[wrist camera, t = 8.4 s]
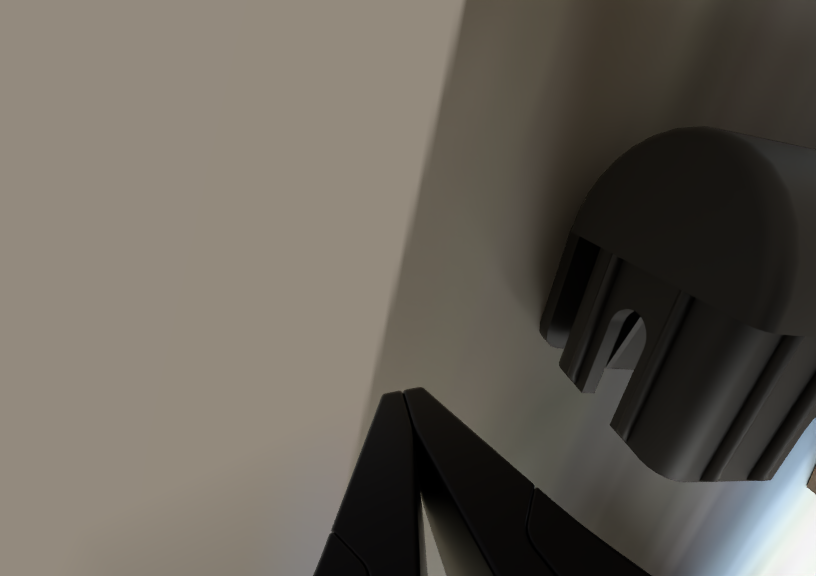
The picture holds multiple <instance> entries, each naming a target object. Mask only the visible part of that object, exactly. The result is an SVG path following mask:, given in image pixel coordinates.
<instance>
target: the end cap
mask: <svg viewBox="0 0 816 576" xmlns="http://www.w3.org/2000/svg"><path fill="white" fill-rule="evenodd" d="M540 333H541V335H542V336H543V338H544V339H545V340H546V341H547V342H548V343H549V345H550V346H553V347H555V348H562V349H564V351H563V354H562V356H561V359H560V362H559V366H560V368H561V369H562V370H563V372H564V373H565V374H566V375H567V376H568V377H569V379H570V380H571V381H572V382H573V383H574V384H575V385H576V387H577V388H578V389H579V390H580V391H581V392H582V393H595V391H596V388H597V386H598V383H599V381H600V378H601V376H602V374H603V371H604V369H605V368H612V369H632V370H634V372H633V374H632V376H631V378H630V381H629V383H628V385H627V387H626V390H625V392H624V394H623V396H622V399H621V401H620V403H619V405H618V408H617V410H616V412H615V414H614V417H613V419H612V421H611V423H610V426H611V427H612V428H613V429H614V430H615V431H616V433H617V434H618V435H619V436H620V437H621V438H622V439H623V441H624V442H625V443H626V444H627V445H628V446H629V448H630V449H631V450H632V451H633V452H634V453H635V454H636V456H637V457H638V458H639V459H640V460H641V461H642V462H643V463H644V464H645V465H646V466H647V467H649V468H650V469H652V470H653V471H654V472H656V473H658V474H660V475H662V476H664V477H666V478H668V479H671V480H674V481H680V482H718V481H765V480H771V479H772V478H773V476H774V475H775V473H776V472H777V470H778V469H779V467H780V466H781V464H782V463H783V461H784V460H785V458H786V457H787V456H788V454H789V453H790V451H791V450H792V448H793V447H794V445H795V444H796V442H797V441H798V439H799V438H800V436H801V435H802V433H803V432H804V430H805V429H806V428H807V427H808V425H809V424H810V423H811V421H812V420H813V419H814V418H815V417H816V149H811V148H806V147H801V146H797V145H792V144H787V143H782V142H778V141H773V140H768V139H764V138H759V137H754V136H749V135H745V134H740V133H735V132H731V131H726V130H720V129H715V128H710V127H688V128H677V129H673V130H670V131H667V132H664V133H660V134H657V135H654V136H652V137H650V138H648V139H646V140H645V141H643V142H641V143H639V144H637V145H635V146H633V147H632V148H631V149H630V150H628V151H627V152H626V153H624V154H623V155H622V156H621V157H619V158H618V159H617V160H616V161H615V162H614V163H613V164H612V165H611V166H610V167H609V168H608V169H607V170H606V171H605V172H604V174H603V175H602V176H601V177H600V178H599V179H598V181H597V182H596V184H595V185H594V186H593V188H592V189H591V191H590V192H589V194H588V195H587V197H586V199H585V201H584V203H583V204H582V206H581V208H580V210H579V212H578V214H577V217H576V220H575V222H574V225H573V227H572V229H571V231H570V233H569V236H568V239H567V243H566V246H565V249H564V252H563V255H562V258H561V261H560V264H559V267H558V270H557V273H556V276H555V279H554V283H553V286H552V289H551V292H550V295H549V298H548V301H547V304H546V307H545V310H544V313H543V316H542V319H541V322H540Z"/></svg>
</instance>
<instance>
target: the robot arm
mask: <svg viewBox="0 0 816 576" xmlns="http://www.w3.org/2000/svg"><path fill="white" fill-rule="evenodd" d="M420 493H421V494H420ZM421 497H422V501H423V505H424V508H425V511H426V515H427V518H428V521H429V524H430V527H431V530H432V533H433V536H434V539H435V542H436V545H437V548H438V551H439V554H440V557H441V560H442V563H443V566H444V569H445V572H446V575H447V576H651V575H650V574H649V573H647V572H646V571H644V570H643V569H642V568H640V567H639V566H637V565H636V564H635V563H633V562H632V561H630V560H629V559H628V558H626V557H625V556H623V555H622V554H621V553H619V552H618V551H616V550H615V549H614V548H612V547H611V546H610V545H608V544H607V543H605V542H604V541H603V540H601V539H600V538H599V537H597V536H596V535H595V534H593V533H592V532H591V531H589V530H588V529H587V528H585V527H584V526H583V525H581V524H580V523H579V522H578V521H577V520H575V519H574V518H573V517H572V516H570V515H569V514H568V513H567V512H566V511H564V510H563V509H562V508H561V507H560V506H558V505H557V504H556V503H555V502H554V501H552V500H551V499H550V498H549V497H548V496H547V495H546V494H544V493H543V492H542V491H541V490H540V489H539V488H535V485H534V484H533V483H532V482H531V481H529V480H528V479H527V478H526V477H525V476H524V475H522V474H521V473H520V472H519V471H518V470H517V469H516V468H514V467H513V466H512V465H511V464H510V463H509V462H508V461H506V460H505V459H504V458H503V457H502V456H501V455H500V454H498V453H497V452H496V451H495V450H494V449H493V448H492V447H490V446H489V445H488V444H487V443H486V442H485V441H484V440H482V439H481V438H480V437H479V436H478V435H477V434H476V433H474V432H473V431H472V430H471V429H470V428H469V427H468V426H466V425H465V424H464V423H463V422H462V421H461V420H460V419H458V418H457V417H456V416H455V415H454V414H453V413H451V412H450V411H449V410H448V409H447V408H446V407H445V406H443V405H442V404H441V403H440V402H439V401H438V400H437V399H435V398H434V397H433V396H432V395H431V394H430V393H429V392H427V391H426V390H425V389H424V388H422V387H417V388H412V389H406V390H404V392H403V393H402V392H401V391H396V392H390V393H385V394H383V395H382V397H381V400H380V402H379V405H378V408H377V410H376V413H375V416H374V418H373V421H372V424H371V426H370V429H369V431H368V434H367V437H366V439H365V442H364V445H363V447H362V450H361V453H360V455H359V458H358V461H357V463H356V466H355V469H354V471H353V474H352V476H351V479H350V482H349V484H348V487H347V490H346V492H345V495H344V498H343V500H342V503H341V506H340V508H339V511H338V513H337V516H336V519H335V521H334V524H333V527H332V530H331V531H332V533H331V534H329V537H328V539H327V542H326V545H325V547H324V550H323V553H322V555H321V558H320V560H319V562H318V565H317V567H316V570H315V572H314V575H313V576H428V573H427V561H426V548H425V536H424V523H423V512H422V503H421Z"/></svg>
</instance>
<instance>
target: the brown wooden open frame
mask: <svg viewBox="0 0 816 576" xmlns="http://www.w3.org/2000/svg"><path fill="white" fill-rule="evenodd" d="M807 488H809V489H810V490H811V491H812V492H814V493H815V494H816V467H815V469H814V471H813V474H812V476H811V478H810V480H809V483H808V485H807Z"/></svg>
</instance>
